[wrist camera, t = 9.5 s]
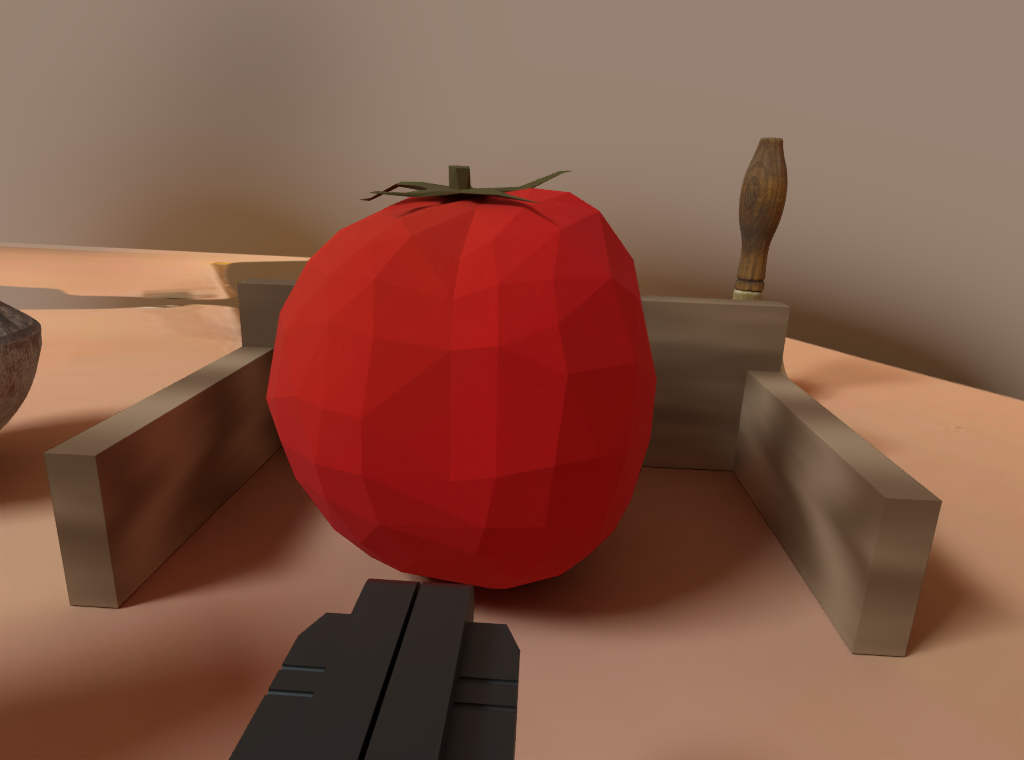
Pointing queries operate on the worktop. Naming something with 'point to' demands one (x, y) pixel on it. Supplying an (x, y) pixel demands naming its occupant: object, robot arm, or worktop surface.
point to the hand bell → (760, 216)
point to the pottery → (16, 358)
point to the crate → (673, 443)
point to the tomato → (468, 381)
